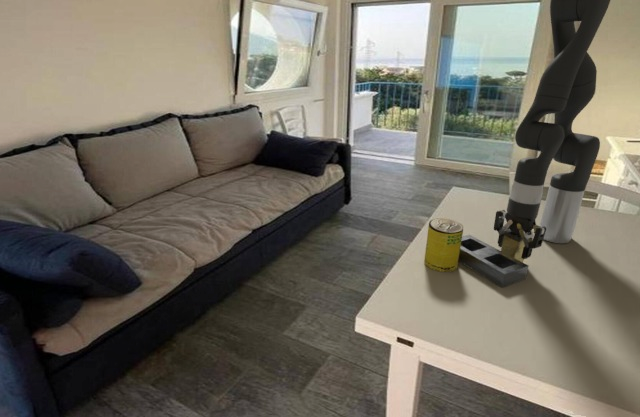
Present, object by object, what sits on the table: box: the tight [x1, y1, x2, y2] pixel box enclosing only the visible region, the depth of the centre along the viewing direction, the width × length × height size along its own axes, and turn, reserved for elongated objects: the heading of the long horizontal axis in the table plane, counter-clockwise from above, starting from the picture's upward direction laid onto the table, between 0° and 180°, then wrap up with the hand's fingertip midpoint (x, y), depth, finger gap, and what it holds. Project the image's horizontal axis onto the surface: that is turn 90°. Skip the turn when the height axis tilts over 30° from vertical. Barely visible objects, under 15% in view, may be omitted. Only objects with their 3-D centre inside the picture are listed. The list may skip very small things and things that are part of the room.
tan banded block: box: [500, 230, 528, 263], centre depth 106 cm, size 5×5×9 cm
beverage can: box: [423, 217, 464, 273], centre depth 105 cm, size 9×9×12 cm
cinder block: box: [458, 234, 529, 288], centre depth 105 cm, size 9×20×4 cm, turn 26°
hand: (512, 251), depth 107 cm, fingers open, 7 cm apart
